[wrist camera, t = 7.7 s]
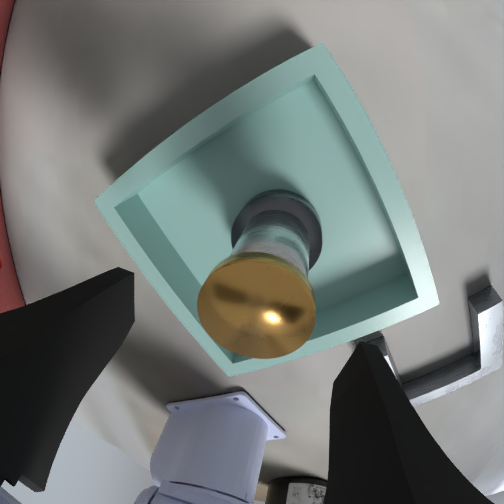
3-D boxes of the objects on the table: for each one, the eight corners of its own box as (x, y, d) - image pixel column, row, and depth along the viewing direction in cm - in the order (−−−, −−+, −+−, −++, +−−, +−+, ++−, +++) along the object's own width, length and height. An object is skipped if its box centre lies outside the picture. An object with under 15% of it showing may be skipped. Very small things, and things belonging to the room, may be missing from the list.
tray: (239, 345, 21) (228, 377, 18) (123, 185, 17) (93, 201, 14) (423, 274, 16) (439, 304, 13) (320, 55, 12) (322, 42, 9)
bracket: (382, 399, 21) (384, 416, 19) (356, 346, 19) (358, 365, 17) (494, 351, 17) (501, 366, 15) (491, 285, 15) (502, 300, 13)
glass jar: (309, 276, 16) (302, 375, 10) (231, 257, 17) (185, 345, 11) (331, 201, 14) (344, 276, 8) (244, 180, 15) (192, 238, 9)
